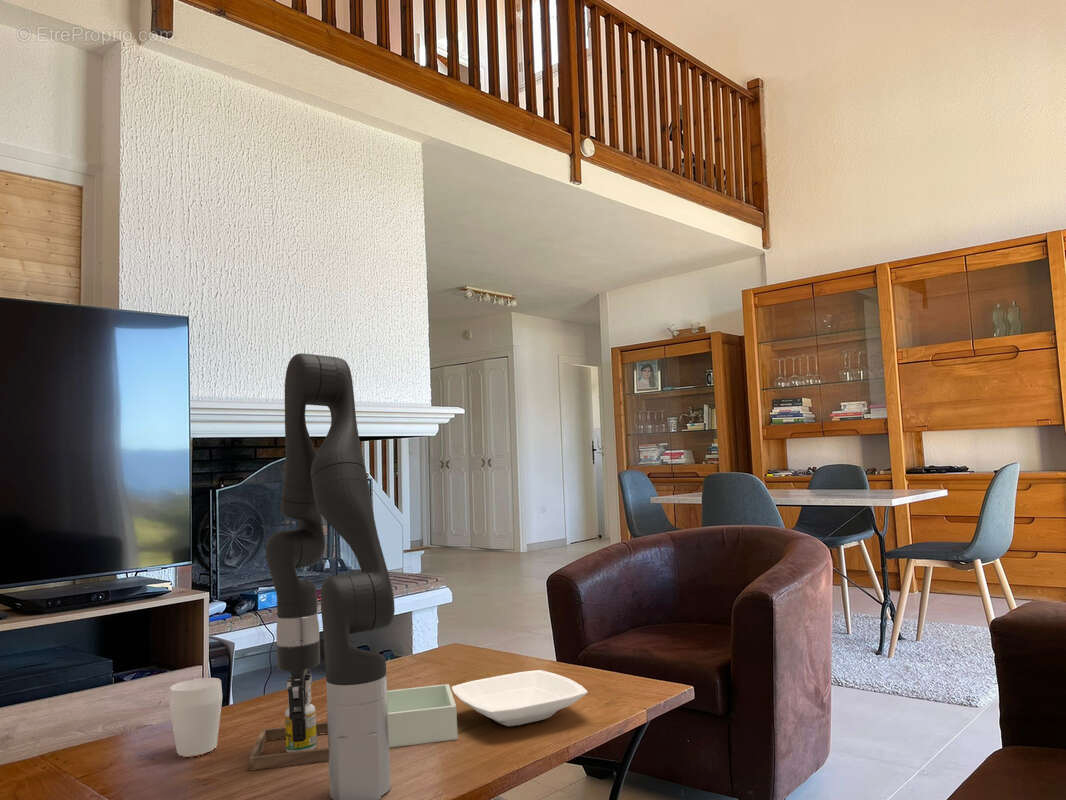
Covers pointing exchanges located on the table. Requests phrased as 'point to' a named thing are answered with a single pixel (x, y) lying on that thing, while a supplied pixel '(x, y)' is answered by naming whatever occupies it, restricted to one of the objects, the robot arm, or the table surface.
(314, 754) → the walnut frame
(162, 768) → the table surface
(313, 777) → the table surface
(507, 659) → the table surface
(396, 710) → the plastic bin
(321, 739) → the table surface
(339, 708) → the robot arm
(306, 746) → the supplement bottle
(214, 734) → the cup
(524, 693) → the bowl
